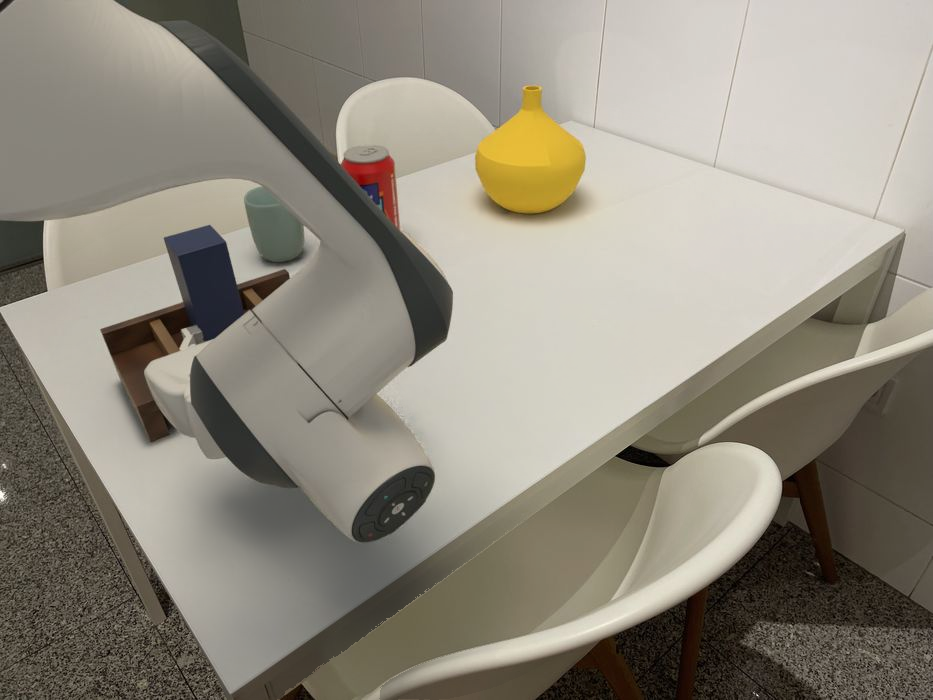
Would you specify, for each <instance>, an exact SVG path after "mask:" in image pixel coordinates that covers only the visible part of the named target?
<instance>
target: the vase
mask: <svg viewBox="0 0 933 700" xmlns="http://www.w3.org/2000/svg"><path fill="white" fill-rule="evenodd" d="M542 91H543V89H542V87H541V86H539V85H525V86H523V87H522V105H521V108H520V109H519V110H518V112H517V113H516V114H515V115H513V117H511V118H510V119H508V120H507V121H506V122H505V123H504V124H502V125H501V126H500V127H498V128H497V129H496V130H494V131H493V132H491V133H490V134H488V135H486V137H484V138H483V139H482V140H481V141H480V142H479V143H478V145H477V148H476V152H475V156H474V165H475V167H474V168H475V172H476V174H477V176H478V179H479V181H480V183H481V185H482V187H483V190H484V191H485V192H486V194H487V195H488V196H489V198H491V199H492V200H493V202H495V203H496V204H497V205H499V206H500V207H502V208H504V209H505V210H508V211H510V212H514V213H519V214H525V215H526V214H530V215H531V214H542V213H545V212H549V211H550V210H553V209H555V208H557V207H558V206H560V205H561V204H563V203H564V202H565V201H566V200H567V199H568V198H569V197H570V196H571V195H572V194H574V191H575V189H576V188H577V187H578V184H579V182H580V180H581V178H582V176H583V175H584V172H585V170H586V169H585V168H586V161H587V160H586V159H587V157H586V151H585V148H584V145H583V143H582V142H581V141H580V140H579V139H578V138H577V137H575V136H574V135H573V134H571V133H570V132H568V131H567V129H565V128H564V127H562V125H560V124H559V123H557V122H556V121H555V120H554V119H553V118H551V116H549V115H548V114H547V113H546V112H545V110H544V109H543V107H542V106H543V105H542Z"/></svg>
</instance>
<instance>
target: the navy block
mask: <svg viewBox="0 0 933 700" xmlns="http://www.w3.org/2000/svg"><path fill="white" fill-rule="evenodd" d="M163 240H164V244H165V247H166V250H167V254H168V257H169V260H170V264H171V267H172V270H173V274H174V277H175V280H176V284H177V286H178V290H179V293H180V296H181V299H182V302H183V303H184V306H185V309H186V312H187V316H188V319H189V322H190V325H191V326H194V325H197V326H198V328H200V330H201V331H202V334H203V340H204V341H205V342H207V341H209V340H212V339H215V338H216V337H217V336H218V335H219V334H221V333H222V332H223V331H224V330H225V329H227V328H228V327H229V326H230V325H231V324H233V323H234V322H235V321H236V320H238V319H239V318H240V317H241V316H242V315H244V311H243V307H242V303H241V299H240V295H239V291H238V287H237V284H238V283H237V280H236V279H237V278H236V276H235V271H234V267H233V264H232V259H231V256H230V252H229V248H228V244H227V241H226V240H225V239H224V238H223V236H221V235H220V233H219V232H217V230H216V229H215V228H214V227H213V226H212V225H211V224H206V225H203V226H200V227H196V228H193V229H189V230H185V231H182V232H177V233H175V234H172V235H168V236H164V237H163Z"/></svg>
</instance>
